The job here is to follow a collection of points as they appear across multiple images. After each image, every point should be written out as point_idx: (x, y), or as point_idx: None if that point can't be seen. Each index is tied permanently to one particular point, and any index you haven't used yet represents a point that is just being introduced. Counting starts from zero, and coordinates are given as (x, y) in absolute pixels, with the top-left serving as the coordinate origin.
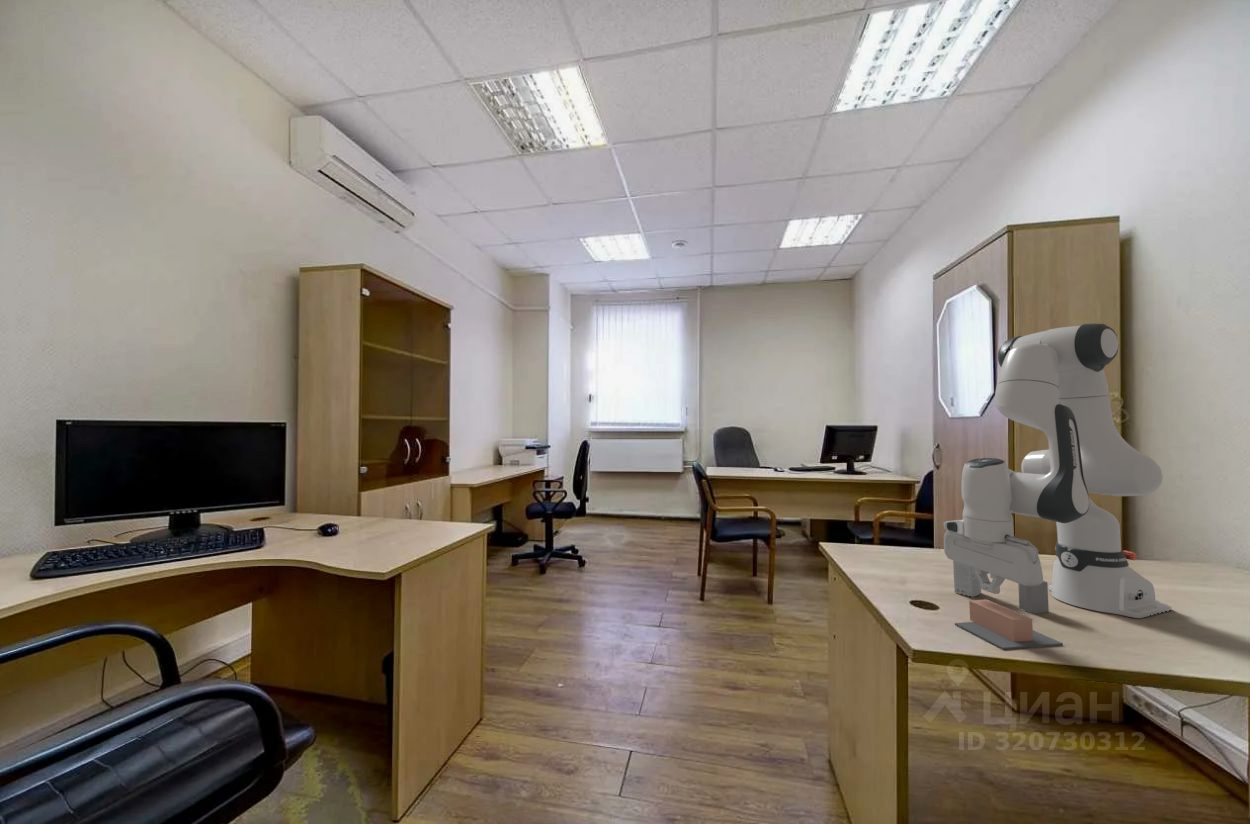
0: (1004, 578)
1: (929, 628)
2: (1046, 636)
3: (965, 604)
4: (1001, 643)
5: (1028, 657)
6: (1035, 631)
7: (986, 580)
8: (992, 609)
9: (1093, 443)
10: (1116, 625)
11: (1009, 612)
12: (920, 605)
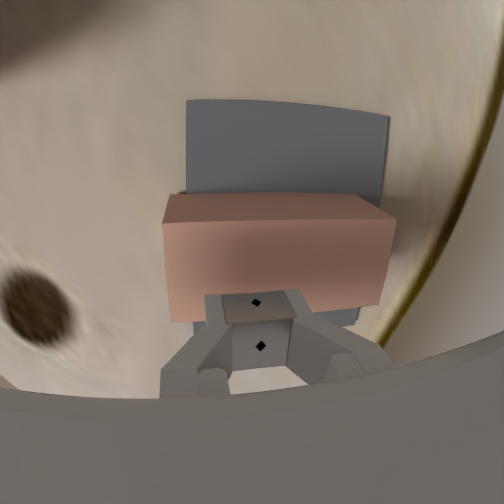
0: (383, 355)
1: None
2: (343, 112)
3: (16, 146)
4: (339, 310)
5: (394, 290)
6: (305, 107)
7: (228, 354)
8: None
9: None
10: None
11: (329, 257)
12: (41, 326)
